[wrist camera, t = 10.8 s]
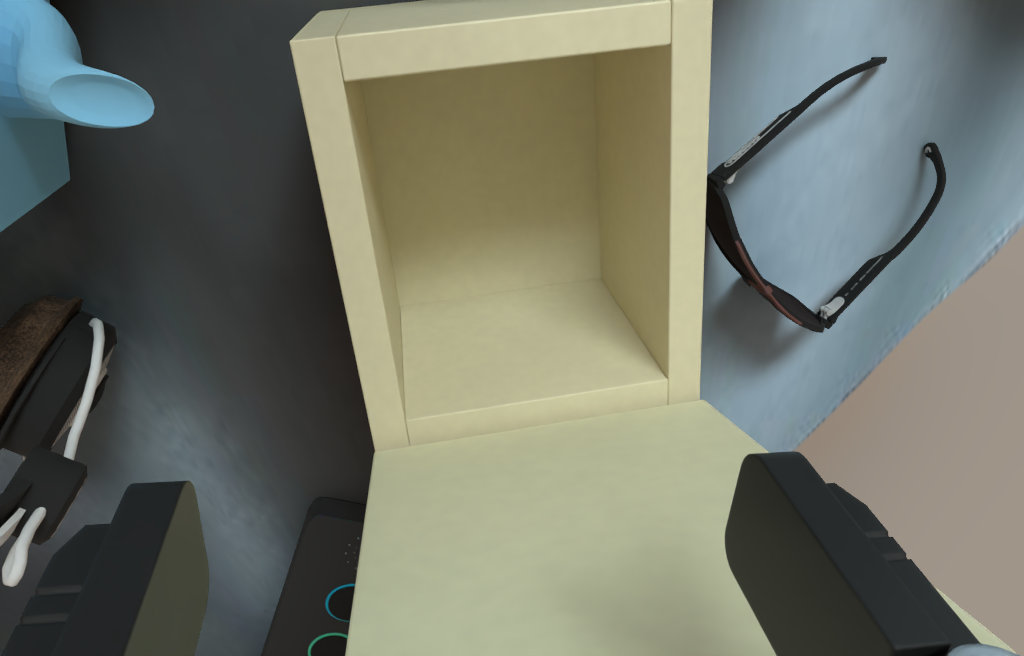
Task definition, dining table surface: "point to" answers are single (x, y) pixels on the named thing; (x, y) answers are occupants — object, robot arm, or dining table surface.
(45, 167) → the teapot
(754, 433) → the dining table surface
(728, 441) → the lid
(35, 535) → the headset
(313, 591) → the smart home device
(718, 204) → the sunglasses
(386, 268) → the foam box
